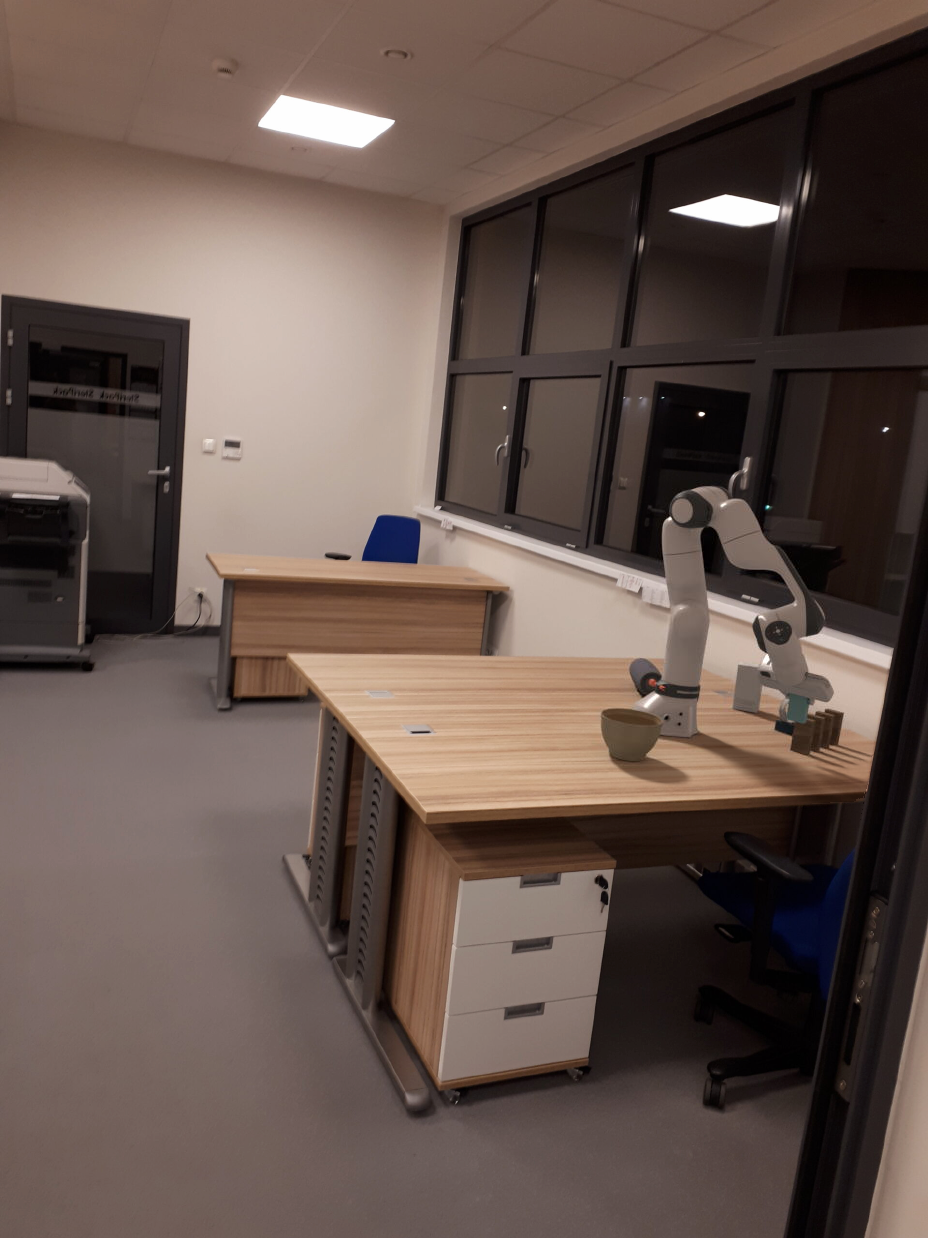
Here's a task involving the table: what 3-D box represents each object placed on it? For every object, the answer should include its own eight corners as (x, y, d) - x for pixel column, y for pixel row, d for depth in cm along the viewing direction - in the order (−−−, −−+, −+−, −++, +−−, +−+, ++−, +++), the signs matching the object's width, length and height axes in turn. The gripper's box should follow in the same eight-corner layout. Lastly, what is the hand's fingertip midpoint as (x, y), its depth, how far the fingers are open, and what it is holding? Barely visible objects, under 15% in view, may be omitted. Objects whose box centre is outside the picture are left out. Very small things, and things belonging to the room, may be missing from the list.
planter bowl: (615, 742, 260) (620, 704, 258) (668, 759, 250) (674, 719, 248) (583, 752, 247) (589, 712, 246) (638, 770, 238) (644, 729, 236)
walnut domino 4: (835, 745, 283) (841, 713, 281) (819, 741, 287) (824, 709, 285) (838, 744, 285) (844, 712, 283) (822, 740, 288) (827, 708, 286)
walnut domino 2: (816, 752, 274) (822, 718, 272) (800, 747, 277) (805, 714, 276) (819, 751, 275) (825, 717, 274) (803, 746, 279) (809, 713, 277)
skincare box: (759, 710, 318) (766, 665, 316) (756, 714, 312) (764, 668, 310) (733, 705, 322) (741, 660, 319) (730, 708, 316) (738, 663, 313)
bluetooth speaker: (663, 701, 316) (668, 672, 314) (635, 698, 316) (640, 668, 314) (651, 685, 338) (655, 658, 337) (625, 682, 338) (629, 655, 337)
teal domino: (802, 723, 263) (808, 688, 261) (785, 719, 266) (791, 684, 265) (806, 722, 264) (812, 688, 263) (789, 718, 268) (794, 683, 266)
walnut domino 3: (826, 748, 278) (832, 716, 277) (809, 744, 282) (815, 711, 280) (829, 747, 280) (834, 715, 278) (812, 743, 283) (818, 710, 282)
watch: (802, 733, 293) (808, 699, 291) (785, 735, 289) (791, 700, 287) (787, 728, 298) (793, 694, 296) (770, 730, 293) (776, 695, 291)
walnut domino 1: (806, 755, 269) (812, 721, 268) (790, 750, 273) (795, 716, 271) (809, 754, 271) (815, 720, 269) (793, 749, 274) (799, 715, 272)
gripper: (832, 669, 250) (841, 701, 259) (761, 652, 264) (772, 683, 273) (822, 687, 248) (831, 718, 256) (751, 669, 262) (762, 699, 270)
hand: (800, 700), depth 265 cm, fingers closed on teal domino, 5 cm apart
